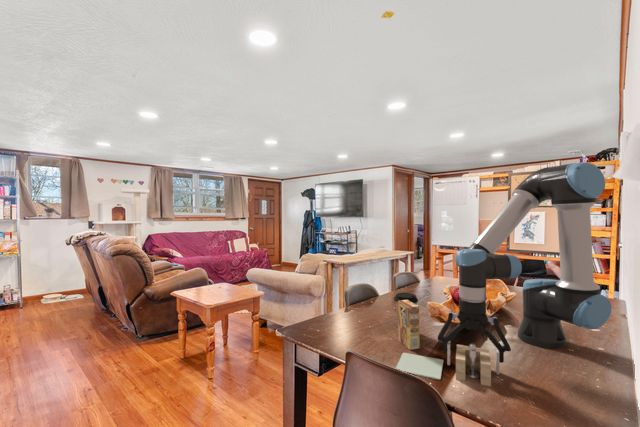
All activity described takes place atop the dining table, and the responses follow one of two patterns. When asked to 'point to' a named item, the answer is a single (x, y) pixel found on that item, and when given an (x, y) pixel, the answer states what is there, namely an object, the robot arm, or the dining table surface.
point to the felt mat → (421, 365)
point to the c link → (481, 363)
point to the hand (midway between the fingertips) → (472, 367)
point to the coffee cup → (404, 296)
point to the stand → (472, 362)
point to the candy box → (408, 324)
